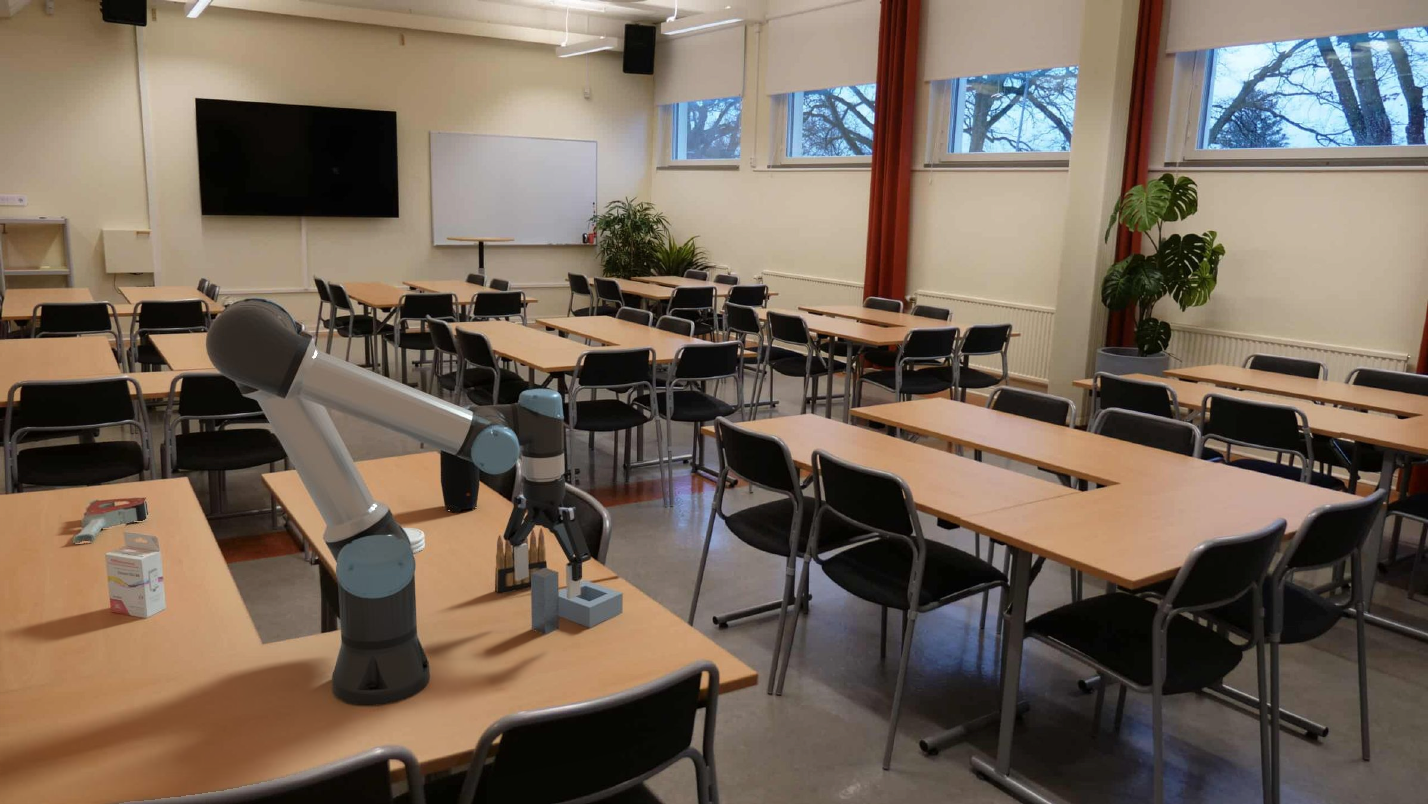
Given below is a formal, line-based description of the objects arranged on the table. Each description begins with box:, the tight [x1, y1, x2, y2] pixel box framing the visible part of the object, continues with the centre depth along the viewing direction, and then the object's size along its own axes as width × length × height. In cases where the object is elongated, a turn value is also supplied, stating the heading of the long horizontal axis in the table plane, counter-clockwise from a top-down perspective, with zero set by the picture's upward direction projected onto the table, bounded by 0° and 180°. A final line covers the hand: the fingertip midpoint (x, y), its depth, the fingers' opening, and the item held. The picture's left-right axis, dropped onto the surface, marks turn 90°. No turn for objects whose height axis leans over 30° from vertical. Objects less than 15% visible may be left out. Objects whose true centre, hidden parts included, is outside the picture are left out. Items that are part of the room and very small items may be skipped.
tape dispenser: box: [72, 497, 149, 544], centre depth 233 cm, size 18×5×20 cm
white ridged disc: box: [402, 527, 426, 555], centre depth 224 cm, size 10×10×4 cm
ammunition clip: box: [494, 527, 548, 594], centre depth 203 cm, size 11×2×12 cm, turn 122°
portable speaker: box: [439, 450, 480, 513], centre depth 251 cm, size 9×9×20 cm
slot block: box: [559, 579, 624, 629], centre depth 192 cm, size 9×10×4 cm
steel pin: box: [530, 567, 560, 635], centre depth 184 cm, size 4×4×11 cm
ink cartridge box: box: [104, 530, 167, 619], centre depth 187 cm, size 9×5×15 cm, turn 74°
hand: (547, 587), depth 184 cm, fingers open, 13 cm apart
